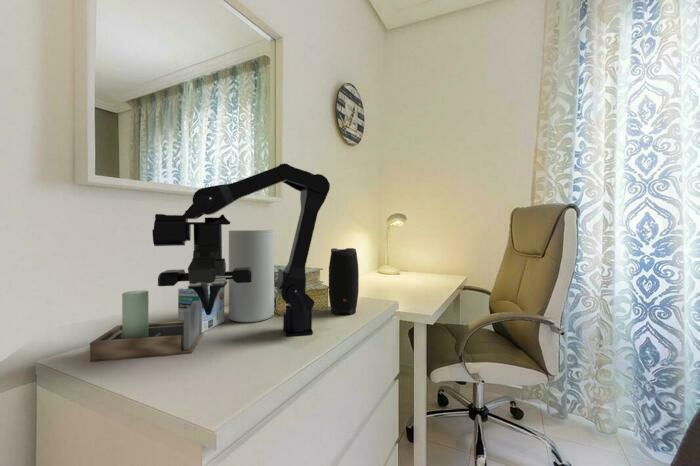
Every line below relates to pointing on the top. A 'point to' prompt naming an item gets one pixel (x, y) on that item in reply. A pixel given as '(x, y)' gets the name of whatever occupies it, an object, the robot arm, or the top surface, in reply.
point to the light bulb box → (201, 307)
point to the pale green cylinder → (135, 314)
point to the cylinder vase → (259, 294)
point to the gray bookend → (177, 328)
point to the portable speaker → (343, 280)
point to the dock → (138, 345)
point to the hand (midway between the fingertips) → (208, 314)
